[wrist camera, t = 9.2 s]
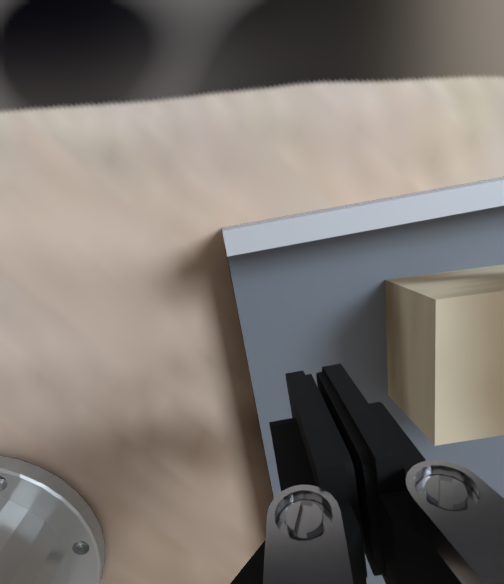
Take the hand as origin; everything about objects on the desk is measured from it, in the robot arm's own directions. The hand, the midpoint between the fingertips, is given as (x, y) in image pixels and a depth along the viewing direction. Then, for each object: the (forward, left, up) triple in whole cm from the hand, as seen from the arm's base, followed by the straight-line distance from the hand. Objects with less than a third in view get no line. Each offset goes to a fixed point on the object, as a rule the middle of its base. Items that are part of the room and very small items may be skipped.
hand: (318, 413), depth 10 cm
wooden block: (+8, -1, -6) cm, 10 cm away
